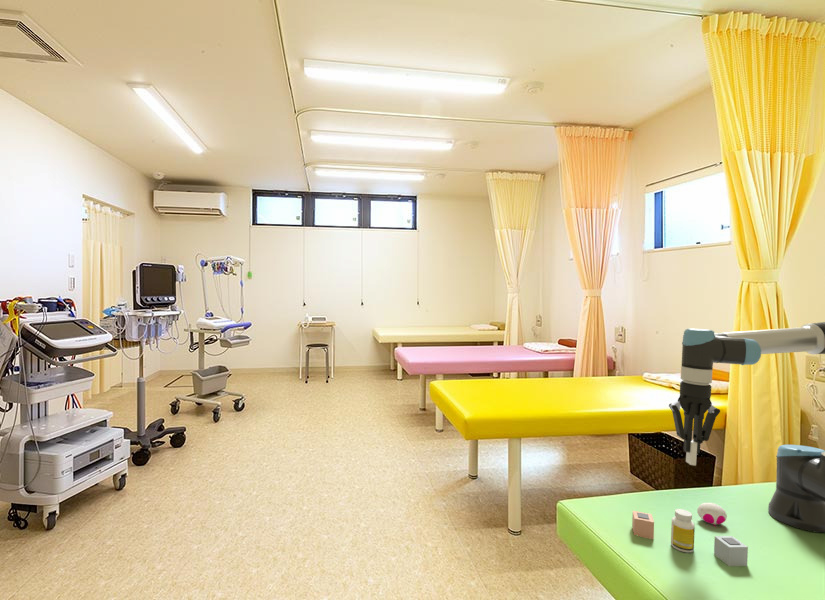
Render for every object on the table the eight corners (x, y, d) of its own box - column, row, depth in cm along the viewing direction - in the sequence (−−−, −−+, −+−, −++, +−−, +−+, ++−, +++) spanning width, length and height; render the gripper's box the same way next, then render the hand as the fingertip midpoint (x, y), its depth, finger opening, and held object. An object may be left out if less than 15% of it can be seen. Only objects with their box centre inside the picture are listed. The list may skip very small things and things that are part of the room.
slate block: (731, 554, 115) (732, 535, 115) (747, 566, 110) (747, 546, 110) (714, 554, 115) (714, 535, 115) (728, 566, 110) (729, 546, 110)
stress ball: (699, 533, 131) (703, 522, 127) (693, 509, 137) (696, 497, 134) (729, 538, 128) (733, 526, 125) (720, 512, 135) (725, 500, 131)
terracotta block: (651, 530, 126) (651, 513, 126) (653, 539, 121) (654, 521, 121) (632, 527, 128) (632, 509, 128) (634, 535, 123) (634, 517, 123)
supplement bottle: (697, 554, 115) (698, 518, 114) (675, 551, 116) (676, 516, 116) (688, 543, 120) (689, 508, 120) (667, 540, 121) (668, 506, 121)
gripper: (713, 381, 126) (708, 460, 126) (665, 378, 128) (661, 456, 128) (728, 386, 118) (722, 471, 119) (677, 383, 120) (672, 466, 121)
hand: (690, 463), depth 123 cm, fingers closed
